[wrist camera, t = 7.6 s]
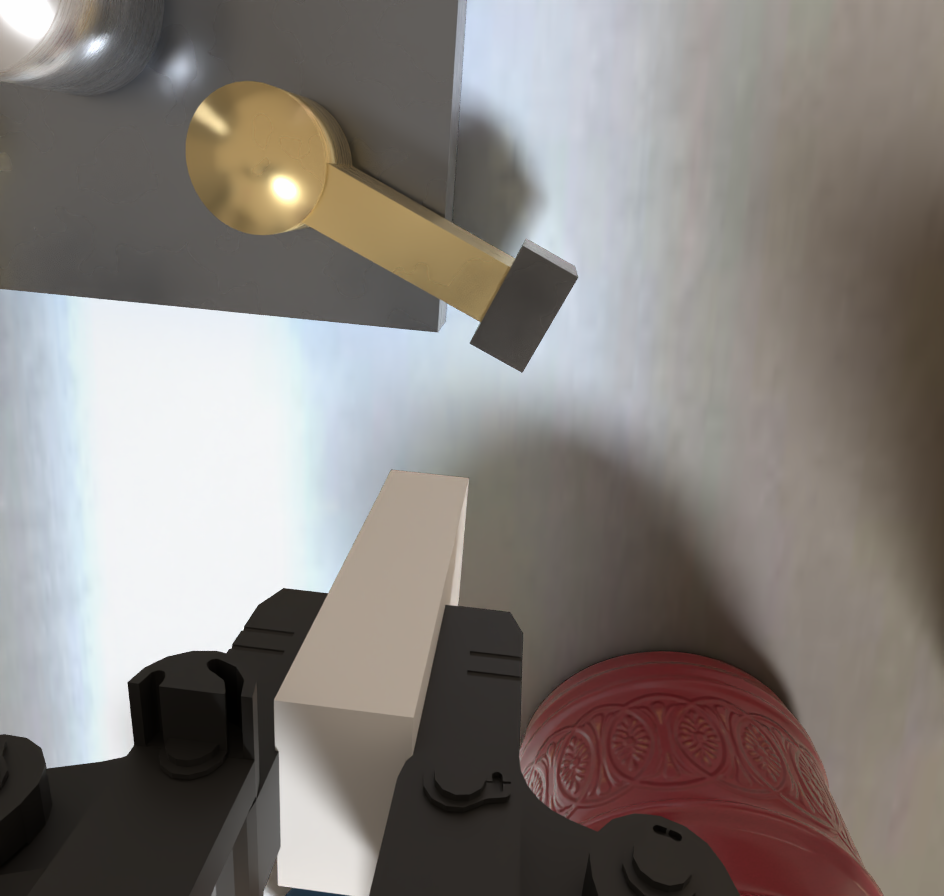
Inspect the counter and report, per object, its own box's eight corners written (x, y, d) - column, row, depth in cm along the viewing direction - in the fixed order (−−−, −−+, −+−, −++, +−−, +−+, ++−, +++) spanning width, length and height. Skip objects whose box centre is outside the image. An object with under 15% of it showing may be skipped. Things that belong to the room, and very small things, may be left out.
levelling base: (-162, 262, 28) (-403, 288, 21) (-263, -184, 23) (-624, -346, 16) (445, 321, 26) (407, 372, 19) (476, -144, 21) (440, -304, 14)
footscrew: (212, 190, 23) (166, 191, 21) (257, 68, 22) (214, 51, 19) (519, 361, 24) (515, 384, 22) (581, 254, 23) (585, 264, 20)
